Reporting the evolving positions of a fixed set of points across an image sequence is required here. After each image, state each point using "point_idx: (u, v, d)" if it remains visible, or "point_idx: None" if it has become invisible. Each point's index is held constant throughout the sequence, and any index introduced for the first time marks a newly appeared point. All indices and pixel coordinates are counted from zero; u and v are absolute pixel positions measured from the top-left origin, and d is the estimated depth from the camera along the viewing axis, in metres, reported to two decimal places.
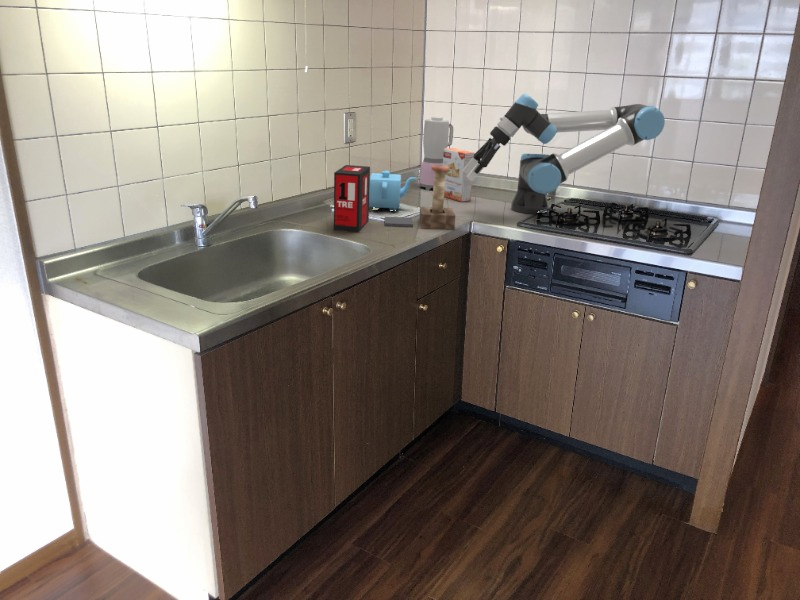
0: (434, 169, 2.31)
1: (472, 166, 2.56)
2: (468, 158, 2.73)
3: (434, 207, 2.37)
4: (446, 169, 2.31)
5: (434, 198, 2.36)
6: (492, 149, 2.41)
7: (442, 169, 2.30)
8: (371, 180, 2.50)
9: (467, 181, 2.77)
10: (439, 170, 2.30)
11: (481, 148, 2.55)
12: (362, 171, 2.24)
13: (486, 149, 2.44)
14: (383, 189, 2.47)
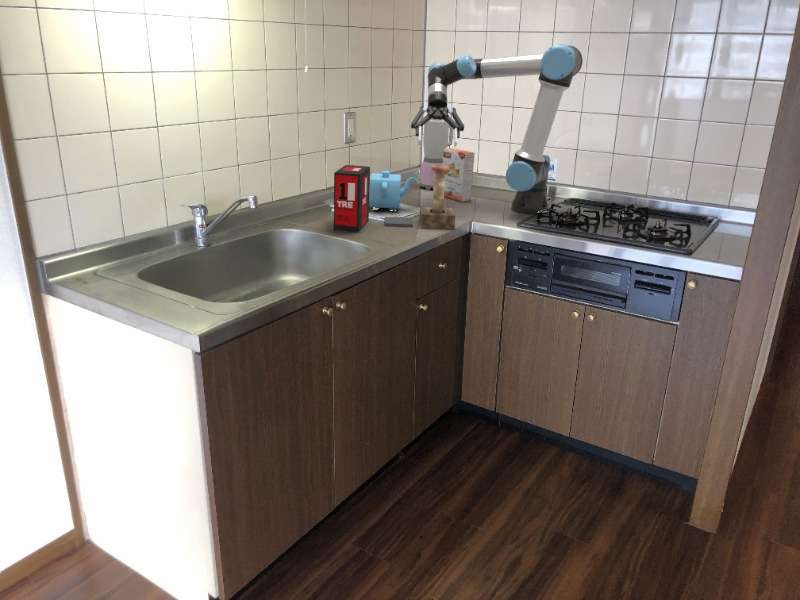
0: (434, 169, 2.31)
1: (454, 135, 2.46)
2: (468, 158, 2.73)
3: (434, 207, 2.37)
4: (446, 169, 2.31)
5: (434, 198, 2.36)
6: None
7: (442, 169, 2.30)
8: (371, 180, 2.50)
9: (467, 181, 2.77)
10: (439, 170, 2.30)
11: (455, 122, 2.51)
12: (362, 171, 2.24)
13: None
14: (383, 189, 2.47)
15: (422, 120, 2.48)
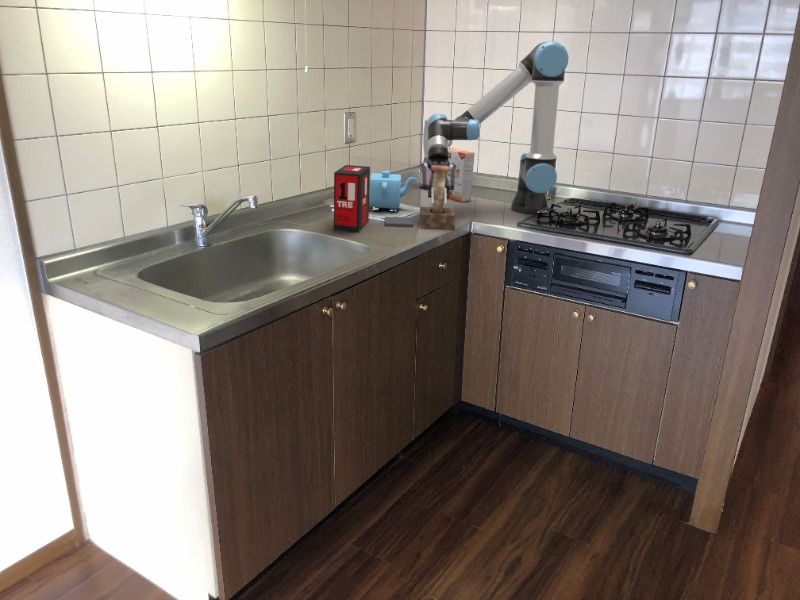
0: (434, 169, 2.31)
1: (444, 195, 2.35)
2: (468, 158, 2.73)
3: (434, 207, 2.37)
4: (446, 169, 2.31)
5: (434, 198, 2.36)
6: (422, 172, 2.40)
7: (442, 169, 2.30)
8: (371, 180, 2.50)
9: (467, 181, 2.77)
10: (439, 170, 2.30)
11: None
12: (362, 171, 2.24)
13: None
14: (383, 189, 2.47)
15: (431, 179, 2.37)
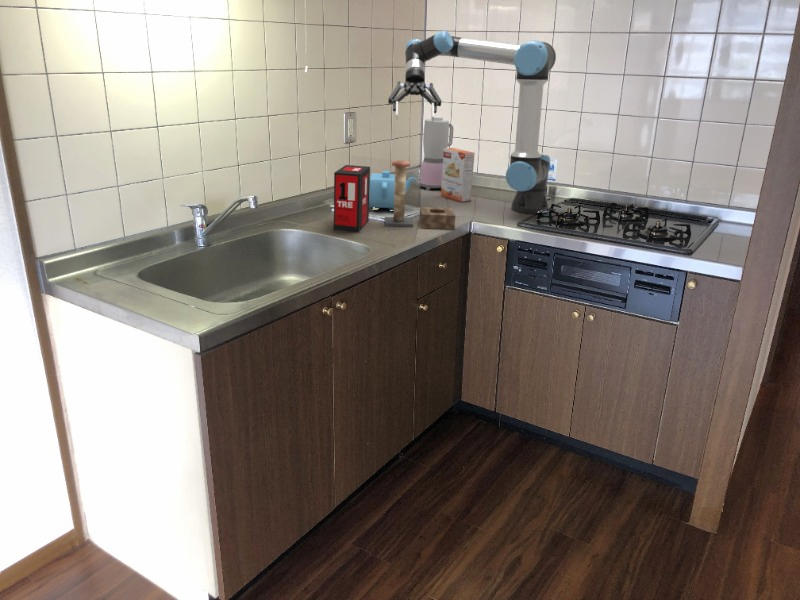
0: (394, 164, 2.30)
1: (431, 109, 2.47)
2: (468, 158, 2.73)
3: (396, 203, 2.36)
4: (406, 164, 2.30)
5: (395, 194, 2.35)
6: None
7: (402, 164, 2.29)
8: (371, 180, 2.50)
9: (467, 181, 2.77)
10: (399, 165, 2.30)
11: (433, 97, 2.52)
12: (362, 171, 2.24)
13: None
14: (383, 189, 2.47)
15: (399, 95, 2.48)
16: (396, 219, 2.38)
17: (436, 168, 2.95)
